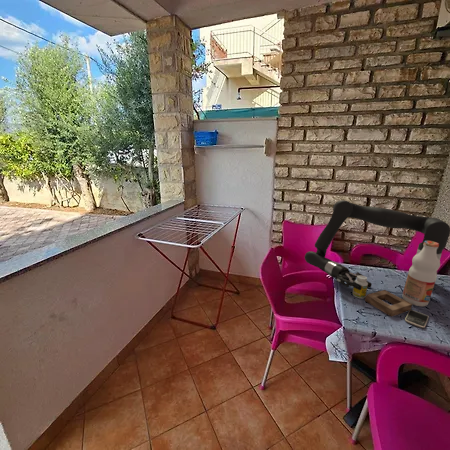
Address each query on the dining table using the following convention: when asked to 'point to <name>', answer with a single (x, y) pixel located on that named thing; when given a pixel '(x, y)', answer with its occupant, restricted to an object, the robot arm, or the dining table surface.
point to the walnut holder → (390, 310)
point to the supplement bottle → (361, 293)
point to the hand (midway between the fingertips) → (365, 286)
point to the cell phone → (416, 319)
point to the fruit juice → (422, 275)
